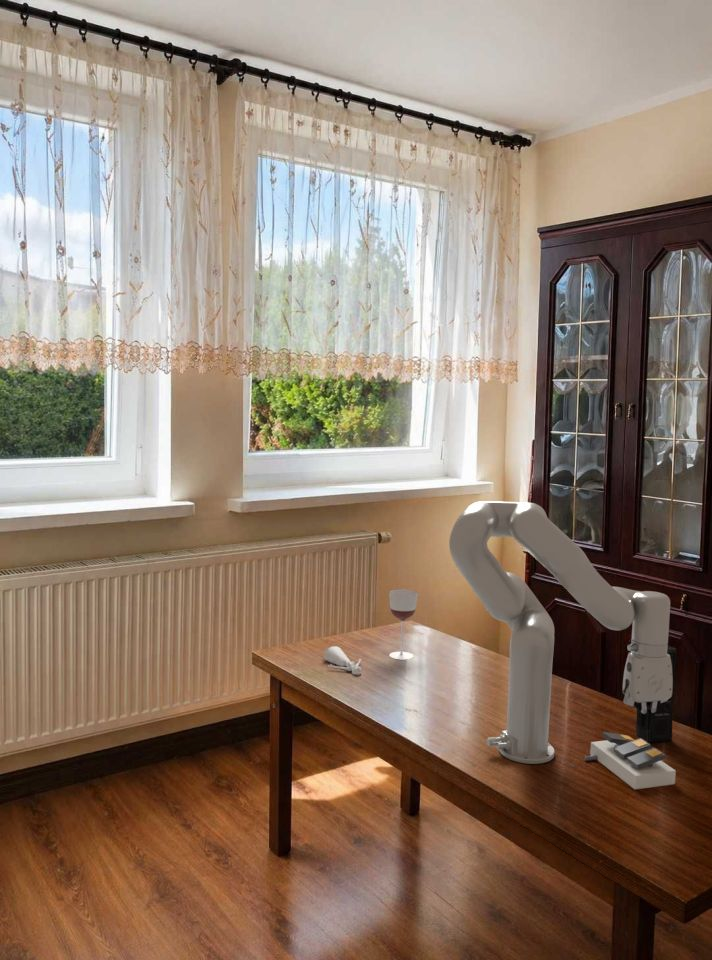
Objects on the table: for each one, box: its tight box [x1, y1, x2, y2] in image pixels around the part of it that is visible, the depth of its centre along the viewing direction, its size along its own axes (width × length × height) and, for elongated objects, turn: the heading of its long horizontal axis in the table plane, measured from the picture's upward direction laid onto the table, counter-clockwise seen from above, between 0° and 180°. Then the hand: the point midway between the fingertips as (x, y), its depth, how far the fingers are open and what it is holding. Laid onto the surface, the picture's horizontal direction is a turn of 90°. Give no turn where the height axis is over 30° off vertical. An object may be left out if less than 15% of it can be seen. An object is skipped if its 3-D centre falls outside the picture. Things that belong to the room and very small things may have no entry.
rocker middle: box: [614, 737, 652, 759], centre depth 186 cm, size 7×4×2 cm, turn 106°
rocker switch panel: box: [584, 739, 677, 790], centre depth 186 cm, size 13×17×3 cm
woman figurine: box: [323, 645, 363, 676], centre depth 248 cm, size 12×4×18 cm
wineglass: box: [388, 588, 419, 661], centre depth 258 cm, size 8×9×20 cm
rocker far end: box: [627, 747, 666, 769], centre depth 181 cm, size 7×4×2 cm, turn 106°
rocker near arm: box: [601, 731, 635, 746], centre depth 190 cm, size 7×4×2 cm, turn 107°
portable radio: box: [635, 635, 677, 744], centre depth 201 cm, size 8×6×25 cm
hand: (644, 728), depth 186 cm, fingers closed
